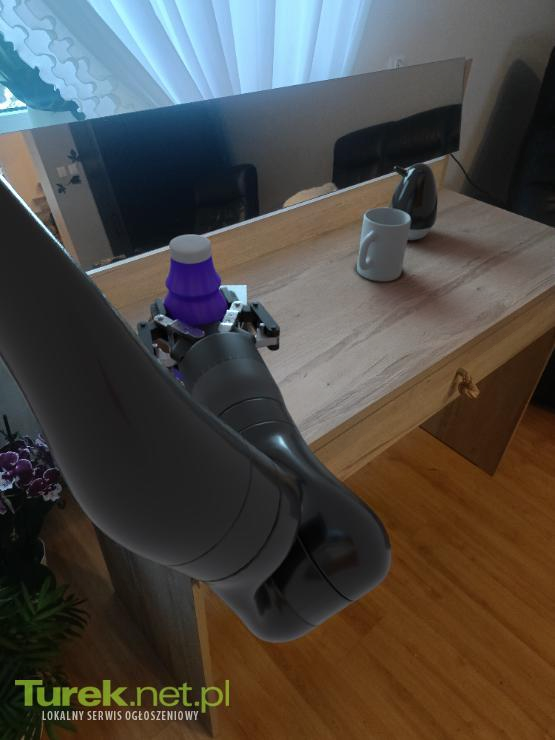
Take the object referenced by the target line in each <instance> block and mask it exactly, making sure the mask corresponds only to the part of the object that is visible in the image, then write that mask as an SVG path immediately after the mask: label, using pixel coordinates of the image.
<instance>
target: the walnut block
mask: <svg viewBox="0 0 555 740" xmlns="http://www.w3.org/2000/svg"><path fill="white" fill-rule="evenodd" d="M222 287H227V289H228V291H230V290H232V291H233V292H235V294H236V296H237V297H238V299H239V301H240V302H242V303H243V305H248V285H247V284H235V285H233V284H230V285H229V284H228V285H221V286H220V288H222ZM220 288H219V289H220ZM242 330H245V331H247V332H249V322H244V324H243V327H242Z"/></svg>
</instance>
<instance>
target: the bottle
mask: <svg viewBox="0 0 555 740" xmlns="http://www.w3.org/2000/svg"><path fill="white" fill-rule="evenodd" d="M211 243H212V242H211V240H210V239H209V238H207V237H206V236H203V235H200V234H181V235H178V236H176V237H174V238H171V240H170V241H169V244H168V247H169V256H170V257H169V258H170V260H169V261H170V262H169V263H170V265H169V266H170V268H169V272H168V275H167V277H166V279H165V281H164V283H165V287H166V289H167V290H168V291H167V293H166V296H165V297H164V300H163V304H164V307H165V310H166V312H167V317H168V318H170V319H172V320H173V321H175V320H177V319H178V320H180V321H182V322H184V323H186V324H187V325H189V326H194V325H205V324H208V323H211V322H215V321H220V322H222V321H223V318H224V316H225V314H226V312H227V310H229V309H228V305H227V302H226V300H225V298H224V296H223V294H222V292H221V291H220V289H219V288H220V286H222V278H221V276H220V275H219V273H218V272H217V269H216V267H215V265H214V260H213V254H212V244H211ZM169 351H171V349H170V347H169ZM171 369H172V372H173V375H174V376H175V377H176V378H177V379H178V380H179V381H180V382H181V383H183V380H182V377H181V374H180V373H179V372H178V371H177V370H175V369H174V368H173V367H172V366H171Z"/></svg>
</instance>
